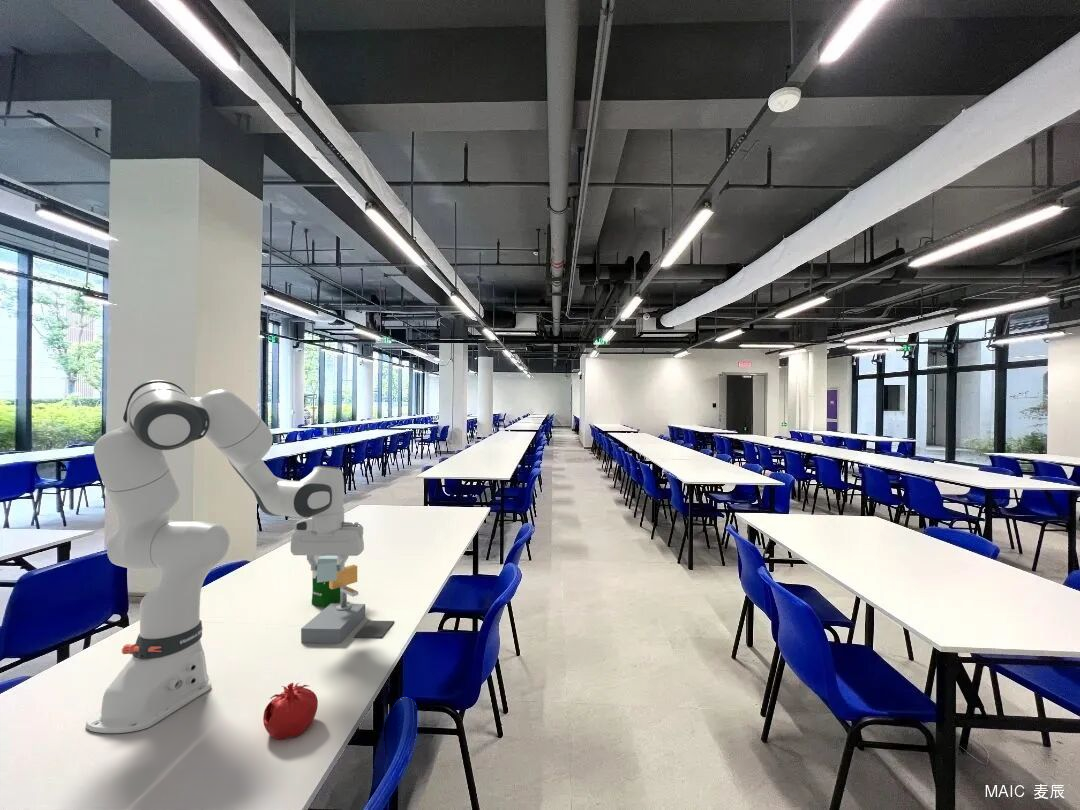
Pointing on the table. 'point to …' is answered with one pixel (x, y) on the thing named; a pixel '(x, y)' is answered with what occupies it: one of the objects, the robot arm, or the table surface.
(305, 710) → the pomegranate
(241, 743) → the table surface
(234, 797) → the table surface
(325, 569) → the pale blue block
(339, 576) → the key
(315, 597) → the milk carton
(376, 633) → the mat
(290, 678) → the table surface
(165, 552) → the robot arm
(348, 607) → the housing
